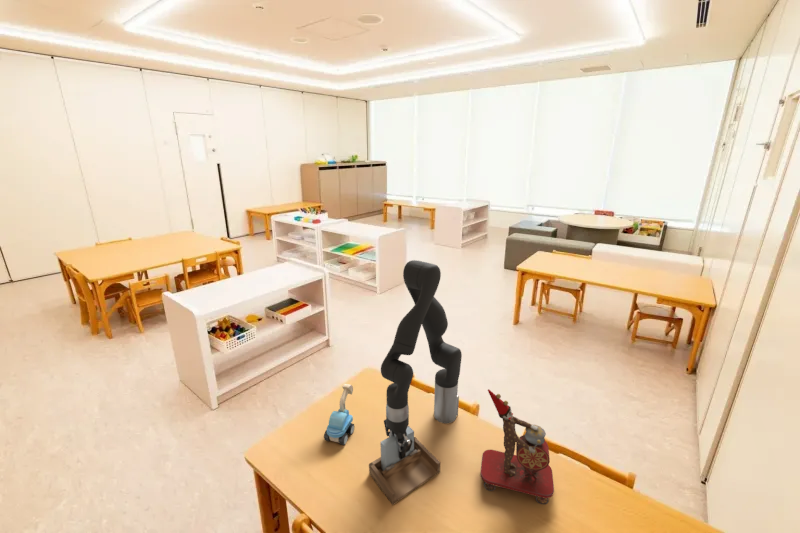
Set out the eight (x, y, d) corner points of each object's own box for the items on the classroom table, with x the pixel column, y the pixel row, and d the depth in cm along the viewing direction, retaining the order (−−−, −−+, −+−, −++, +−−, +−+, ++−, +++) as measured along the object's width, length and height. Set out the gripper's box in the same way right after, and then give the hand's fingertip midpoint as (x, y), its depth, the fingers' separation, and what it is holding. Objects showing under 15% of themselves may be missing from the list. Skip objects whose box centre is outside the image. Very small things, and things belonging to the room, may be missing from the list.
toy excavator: (362, 418, 149) (360, 384, 143) (343, 449, 134) (340, 412, 129) (343, 413, 152) (341, 379, 146) (323, 443, 137) (319, 407, 131)
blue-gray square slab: (408, 452, 132) (408, 425, 128) (413, 457, 129) (414, 431, 125) (381, 468, 125) (380, 441, 121) (386, 475, 123) (385, 447, 119)
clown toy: (552, 509, 112) (569, 419, 100) (478, 490, 118) (486, 403, 107) (549, 474, 124) (564, 389, 112) (482, 458, 130) (489, 376, 119)
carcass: (414, 446, 135) (414, 435, 134) (439, 472, 125) (440, 461, 123) (369, 473, 124) (368, 462, 123) (392, 505, 114) (392, 493, 112)
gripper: (419, 420, 117) (419, 461, 122) (394, 397, 127) (394, 435, 133) (401, 431, 112) (401, 472, 118) (376, 405, 123) (377, 444, 129)
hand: (397, 452), depth 126 cm, fingers open, 4 cm apart
